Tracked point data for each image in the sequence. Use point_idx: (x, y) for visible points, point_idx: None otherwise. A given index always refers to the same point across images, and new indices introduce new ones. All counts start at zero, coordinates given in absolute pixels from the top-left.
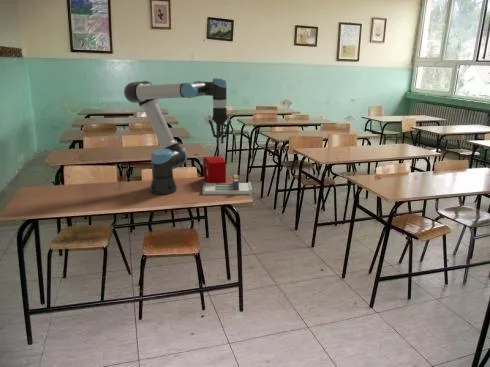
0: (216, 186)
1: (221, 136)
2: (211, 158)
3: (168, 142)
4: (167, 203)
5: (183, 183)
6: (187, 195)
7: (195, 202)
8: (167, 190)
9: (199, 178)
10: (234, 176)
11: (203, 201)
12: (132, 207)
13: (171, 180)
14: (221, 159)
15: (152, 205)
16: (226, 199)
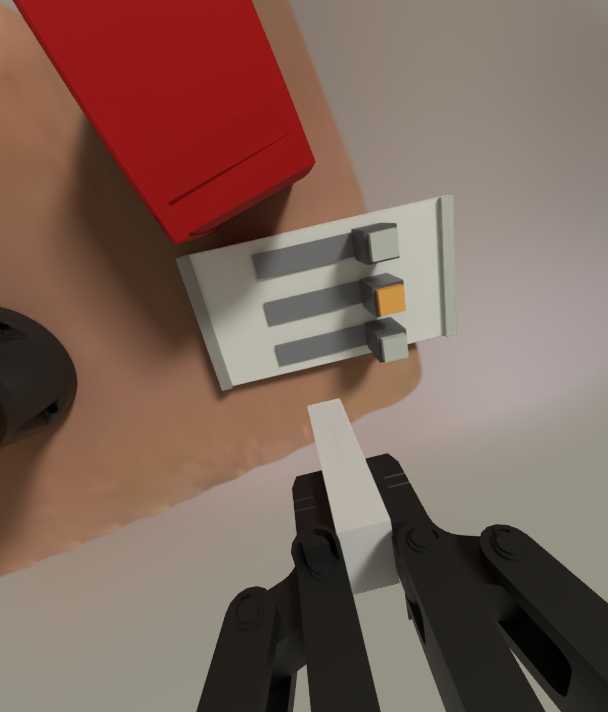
0: (272, 316)
1: (418, 618)
2: (130, 65)
3: None
4: (131, 500)
5: (29, 221)
6: (162, 407)
7: (231, 468)
8: (51, 423)
9: None
10: (382, 291)
11: (258, 452)
12: (31, 557)
13: (23, 414)
14: (257, 90)
15: (88, 527)
16: None
